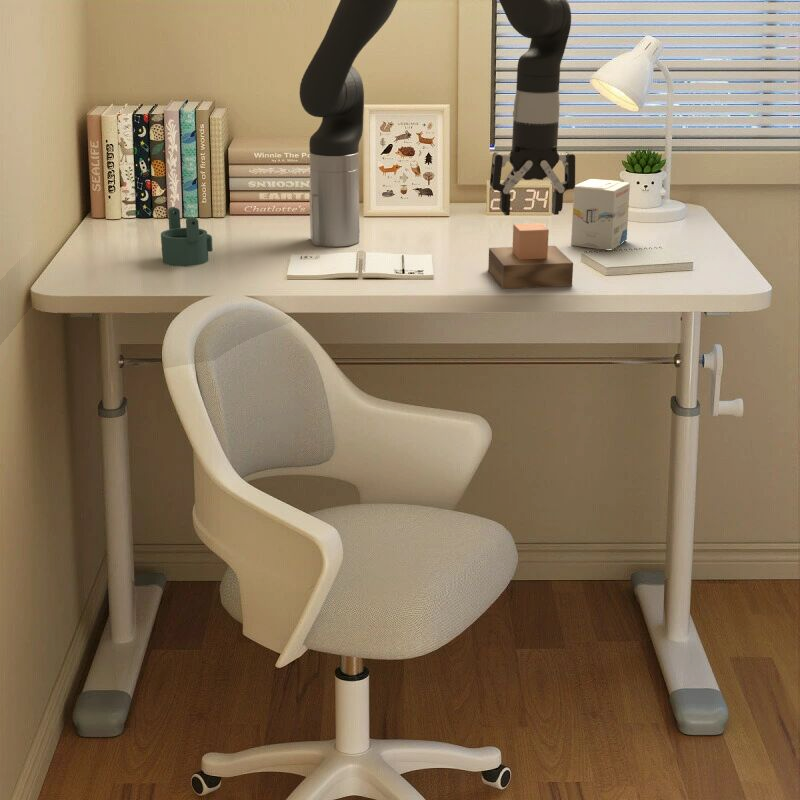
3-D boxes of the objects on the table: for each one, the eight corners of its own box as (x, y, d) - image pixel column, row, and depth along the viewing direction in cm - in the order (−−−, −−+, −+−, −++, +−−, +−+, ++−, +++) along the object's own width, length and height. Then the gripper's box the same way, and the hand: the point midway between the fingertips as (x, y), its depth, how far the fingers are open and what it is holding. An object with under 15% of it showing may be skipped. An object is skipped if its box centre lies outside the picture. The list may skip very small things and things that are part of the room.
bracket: (196, 268, 223) (194, 219, 220) (151, 263, 226) (148, 214, 223) (220, 257, 231) (218, 209, 228) (176, 252, 234) (174, 204, 231)
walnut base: (503, 288, 211) (503, 265, 210) (488, 269, 222) (489, 247, 221) (572, 285, 213) (573, 263, 212) (554, 267, 224) (555, 245, 223)
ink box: (586, 236, 246) (590, 177, 242) (627, 241, 242) (631, 181, 238) (569, 245, 239) (572, 184, 235) (611, 251, 235) (615, 189, 231)
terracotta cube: (518, 259, 214) (519, 230, 212) (512, 252, 218) (513, 223, 216) (547, 258, 214) (548, 229, 212) (540, 251, 219) (541, 223, 217)
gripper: (498, 122, 203) (494, 220, 209) (583, 121, 205) (577, 218, 211) (489, 114, 210) (485, 209, 216) (571, 114, 212) (565, 208, 218)
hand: (530, 214), depth 214 cm, fingers open, 8 cm apart
